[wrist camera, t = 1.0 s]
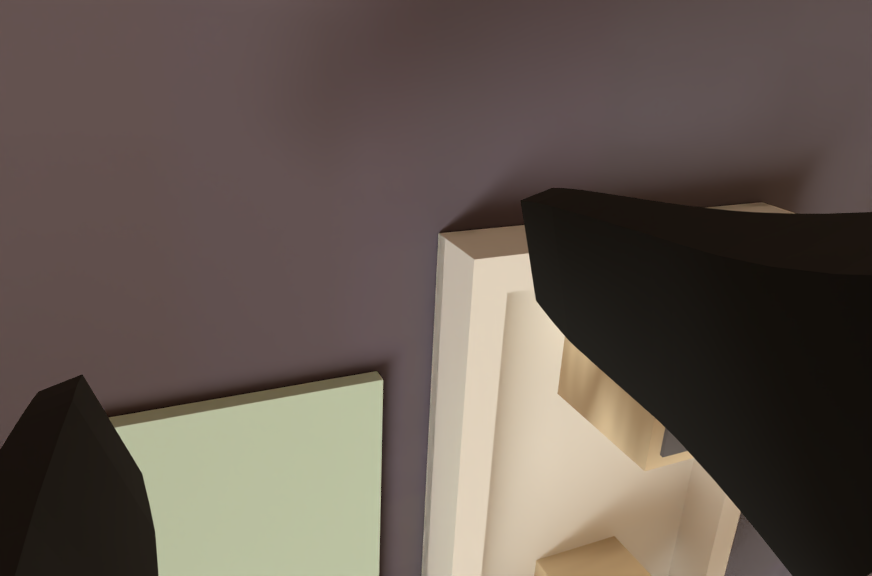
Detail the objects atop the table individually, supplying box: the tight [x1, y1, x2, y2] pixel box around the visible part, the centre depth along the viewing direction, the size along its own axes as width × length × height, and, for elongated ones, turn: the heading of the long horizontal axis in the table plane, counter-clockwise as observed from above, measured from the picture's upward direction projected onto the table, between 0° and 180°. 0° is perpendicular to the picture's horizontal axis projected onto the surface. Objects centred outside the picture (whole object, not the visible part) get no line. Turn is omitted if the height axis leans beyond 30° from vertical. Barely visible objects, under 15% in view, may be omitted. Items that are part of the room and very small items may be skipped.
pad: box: [109, 371, 383, 576], centre depth 24 cm, size 12×10×1 cm
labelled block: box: [557, 337, 694, 471], centre depth 25 cm, size 4×4×5 cm
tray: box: [421, 202, 796, 576], centre depth 29 cm, size 21×14×2 cm, turn 177°
